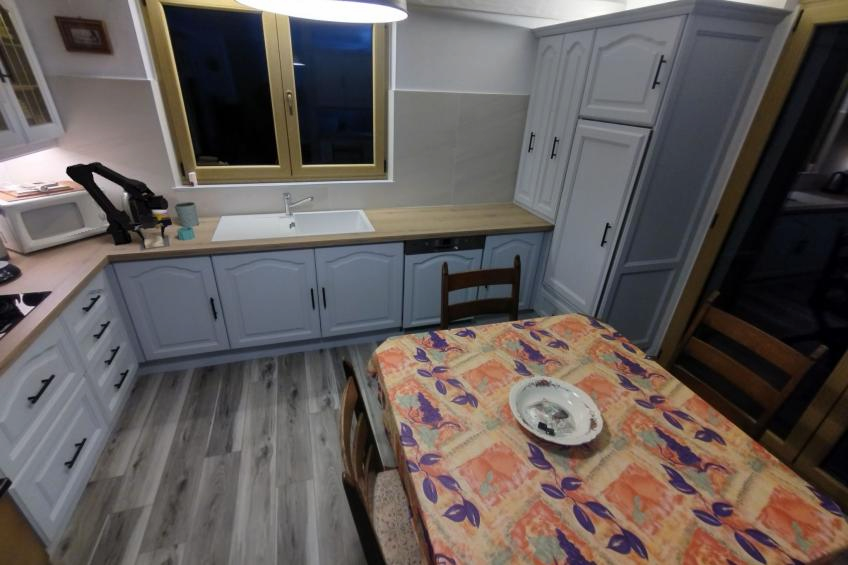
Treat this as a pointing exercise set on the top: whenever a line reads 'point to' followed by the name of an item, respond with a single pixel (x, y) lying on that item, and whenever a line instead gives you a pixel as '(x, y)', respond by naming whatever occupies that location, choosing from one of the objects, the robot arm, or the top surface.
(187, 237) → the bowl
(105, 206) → the robot arm
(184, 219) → the grey-green cup
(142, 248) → the mat
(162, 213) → the supplement bottle
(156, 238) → the cover board
